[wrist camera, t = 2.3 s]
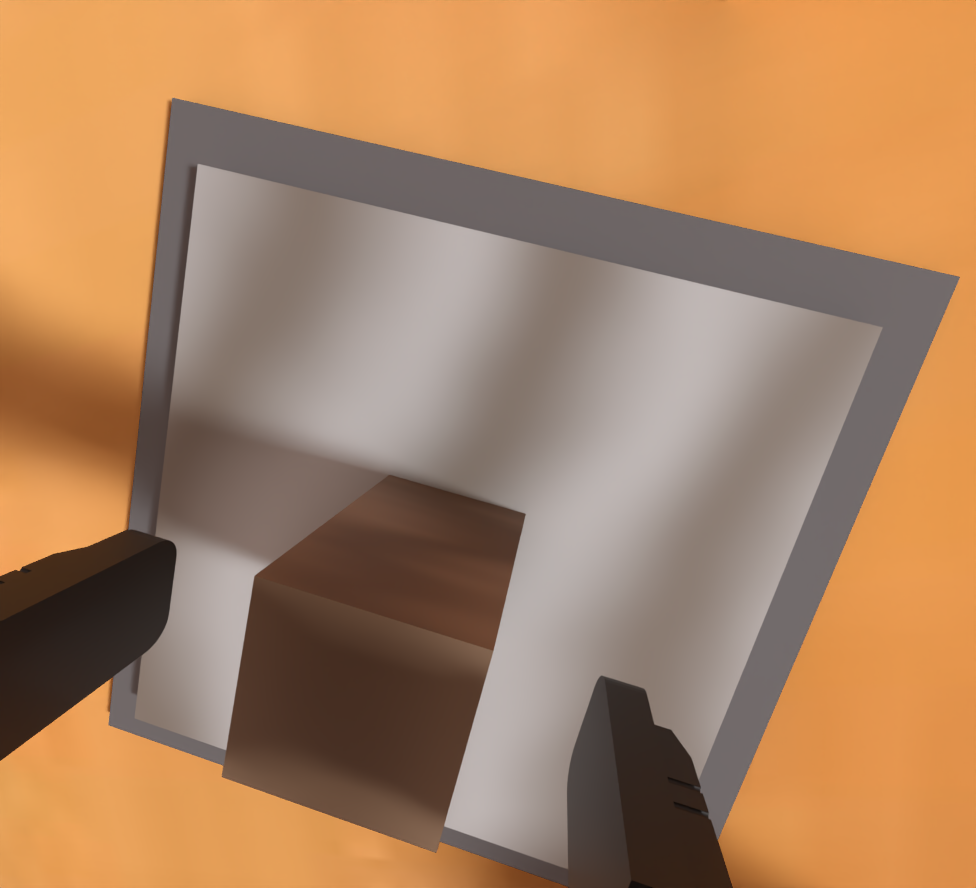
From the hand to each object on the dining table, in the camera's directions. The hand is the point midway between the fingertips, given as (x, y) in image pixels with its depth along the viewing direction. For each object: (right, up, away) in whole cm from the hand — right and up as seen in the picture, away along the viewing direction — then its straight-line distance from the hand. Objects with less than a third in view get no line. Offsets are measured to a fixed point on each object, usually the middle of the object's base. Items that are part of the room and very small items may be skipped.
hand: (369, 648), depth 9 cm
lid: (+1, +1, +5) cm, 5 cm away
